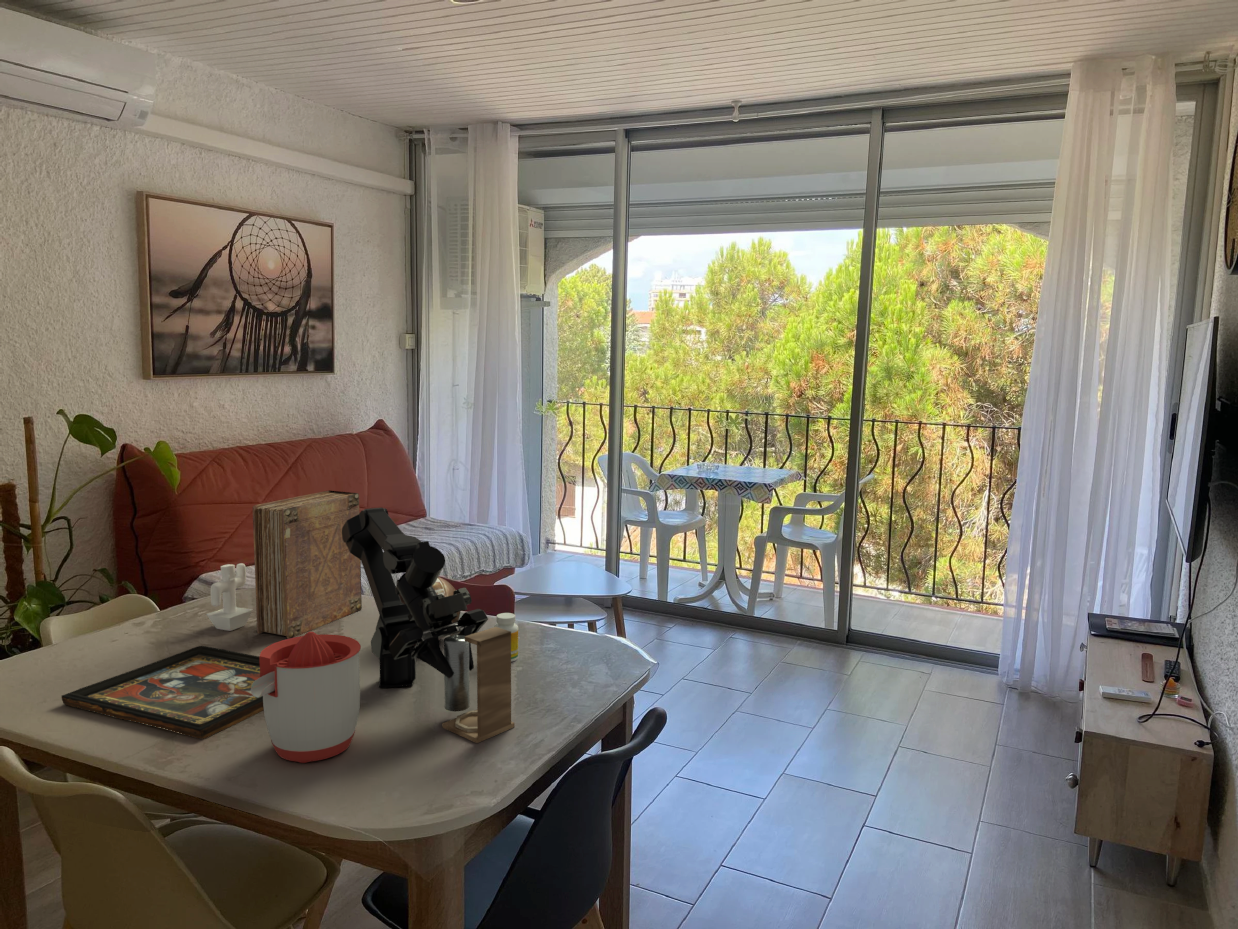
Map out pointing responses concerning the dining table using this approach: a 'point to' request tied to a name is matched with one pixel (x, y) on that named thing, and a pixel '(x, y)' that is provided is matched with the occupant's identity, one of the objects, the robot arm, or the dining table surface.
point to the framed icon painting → (180, 692)
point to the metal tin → (457, 673)
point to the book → (304, 563)
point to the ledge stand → (488, 688)
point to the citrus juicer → (310, 695)
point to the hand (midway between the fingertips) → (461, 673)
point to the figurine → (229, 599)
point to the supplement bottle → (508, 623)
